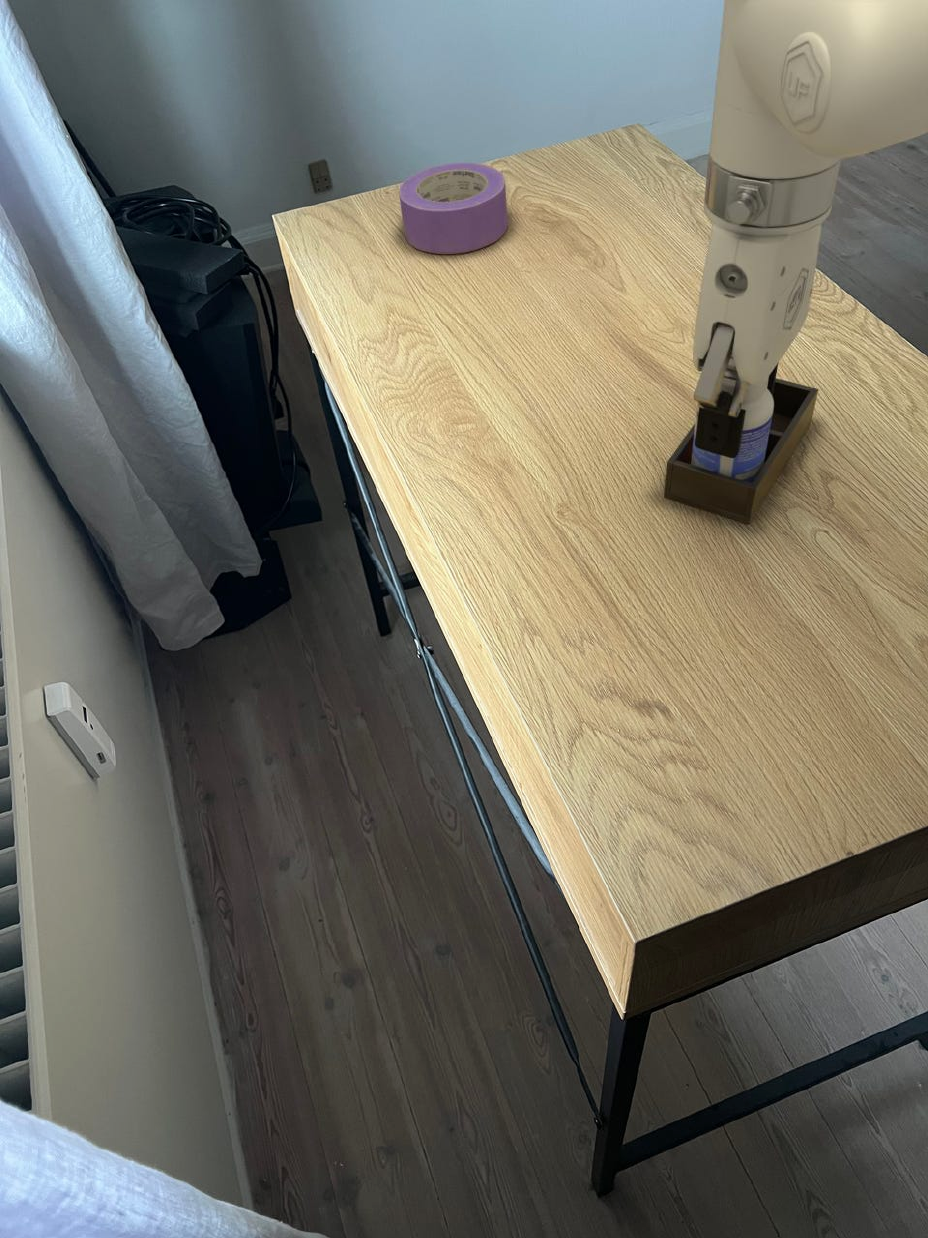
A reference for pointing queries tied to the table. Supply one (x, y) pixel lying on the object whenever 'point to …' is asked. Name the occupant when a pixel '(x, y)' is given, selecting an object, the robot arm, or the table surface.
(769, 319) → the robot arm
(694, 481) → the brown wooden tray
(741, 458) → the pill bottle
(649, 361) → the table surface
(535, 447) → the table surface
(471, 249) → the tape roll
